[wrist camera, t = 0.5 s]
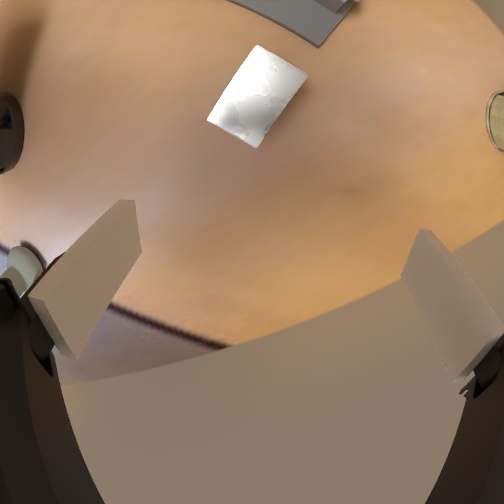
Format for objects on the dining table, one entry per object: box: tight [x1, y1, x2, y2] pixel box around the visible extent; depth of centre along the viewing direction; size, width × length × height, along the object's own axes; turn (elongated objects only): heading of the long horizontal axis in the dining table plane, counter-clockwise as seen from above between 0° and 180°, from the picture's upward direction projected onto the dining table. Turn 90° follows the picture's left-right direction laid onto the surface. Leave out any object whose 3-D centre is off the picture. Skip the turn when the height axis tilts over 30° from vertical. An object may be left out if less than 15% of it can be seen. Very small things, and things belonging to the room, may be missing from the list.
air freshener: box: [0, 246, 43, 297], centre depth 39 cm, size 11×8×10 cm
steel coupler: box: [207, 45, 309, 148], centre depth 23 cm, size 5×8×9 cm, turn 148°
